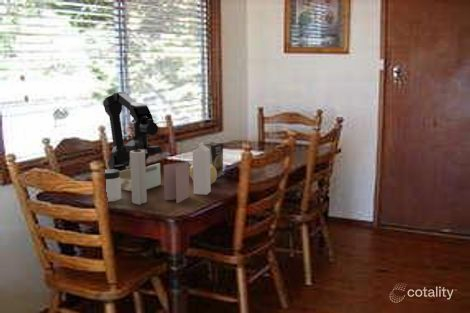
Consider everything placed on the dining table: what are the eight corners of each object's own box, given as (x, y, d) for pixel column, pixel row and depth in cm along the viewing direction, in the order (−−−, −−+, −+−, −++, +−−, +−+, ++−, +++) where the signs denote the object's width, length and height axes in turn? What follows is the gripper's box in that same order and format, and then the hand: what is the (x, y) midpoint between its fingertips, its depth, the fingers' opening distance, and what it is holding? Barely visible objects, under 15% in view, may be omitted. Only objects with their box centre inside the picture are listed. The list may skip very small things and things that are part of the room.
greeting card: (188, 196, 250) (187, 161, 247) (196, 200, 244) (196, 164, 241) (163, 200, 244) (162, 164, 241) (172, 204, 238) (170, 167, 235)
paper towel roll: (137, 199, 245) (134, 149, 242) (149, 201, 243) (147, 149, 239) (127, 204, 239) (125, 152, 235) (140, 205, 237) (138, 152, 233)
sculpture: (186, 186, 269) (186, 162, 267) (199, 180, 280) (199, 158, 278) (209, 188, 264) (208, 164, 262) (221, 182, 275) (220, 160, 273)
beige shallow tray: (113, 188, 266) (112, 173, 264) (135, 181, 279) (135, 167, 278) (137, 192, 259) (136, 176, 258) (159, 184, 272) (159, 169, 271)
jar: (123, 200, 245) (122, 172, 243) (103, 202, 241) (102, 174, 239) (117, 195, 253) (116, 168, 251) (98, 198, 249) (97, 170, 247)
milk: (193, 194, 254) (191, 143, 250) (197, 190, 260) (196, 141, 256) (207, 194, 253) (205, 143, 249) (211, 191, 258) (209, 141, 254)
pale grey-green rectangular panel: (138, 191, 259) (137, 169, 257) (159, 184, 272) (158, 163, 270) (141, 191, 258) (140, 169, 257) (161, 184, 271) (161, 163, 269)
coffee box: (213, 179, 283) (213, 145, 280) (202, 177, 286) (201, 144, 283) (223, 175, 290) (223, 143, 287) (213, 174, 294) (212, 142, 291)
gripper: (112, 134, 260) (114, 169, 263) (145, 136, 251) (147, 172, 254) (128, 131, 270) (130, 164, 273) (161, 133, 261) (163, 168, 263)
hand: (142, 167), depth 265 cm, fingers closed
